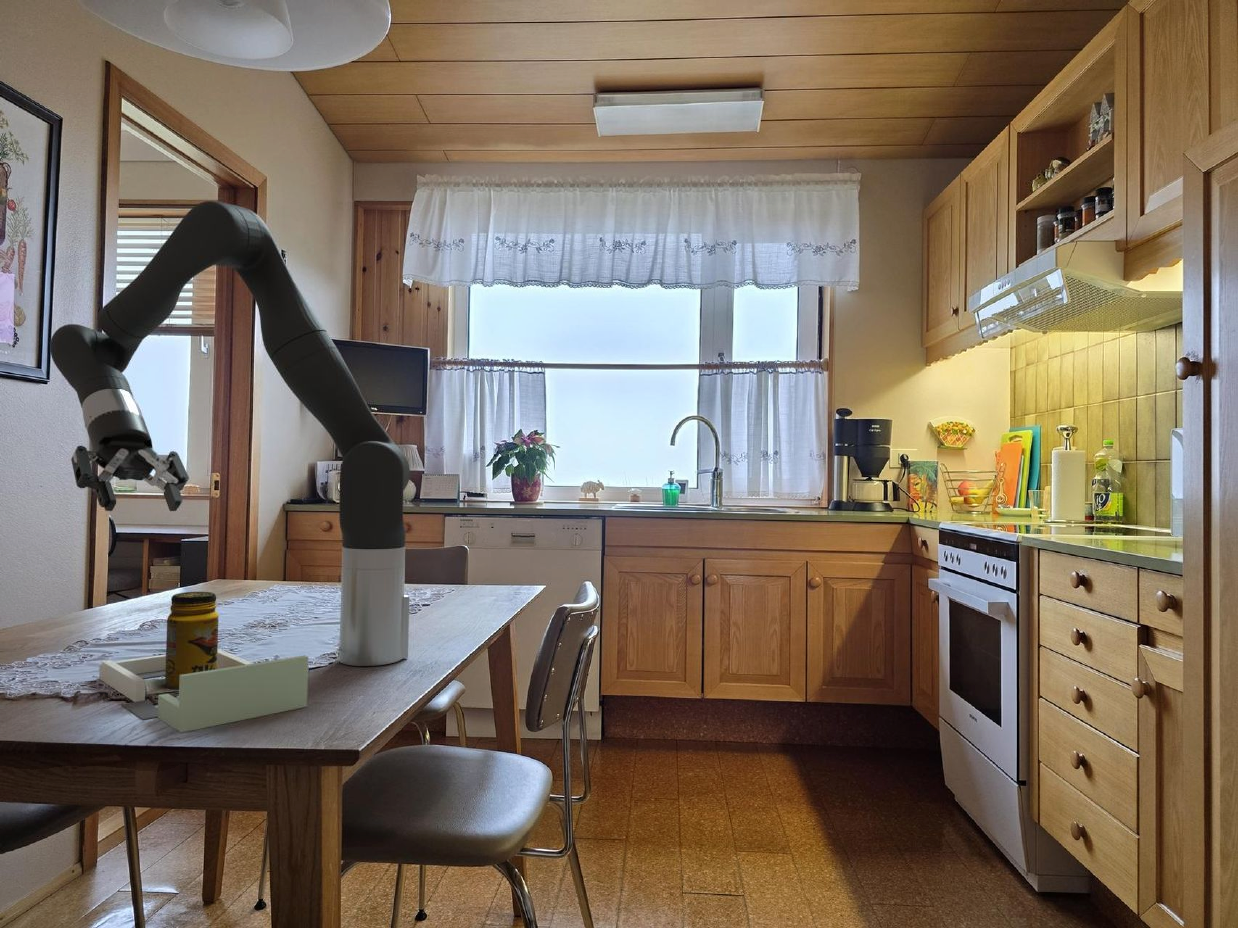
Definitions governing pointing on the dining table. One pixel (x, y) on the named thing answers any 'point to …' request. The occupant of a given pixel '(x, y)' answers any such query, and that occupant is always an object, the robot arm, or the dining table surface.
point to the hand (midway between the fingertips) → (144, 507)
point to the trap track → (212, 689)
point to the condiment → (188, 639)
